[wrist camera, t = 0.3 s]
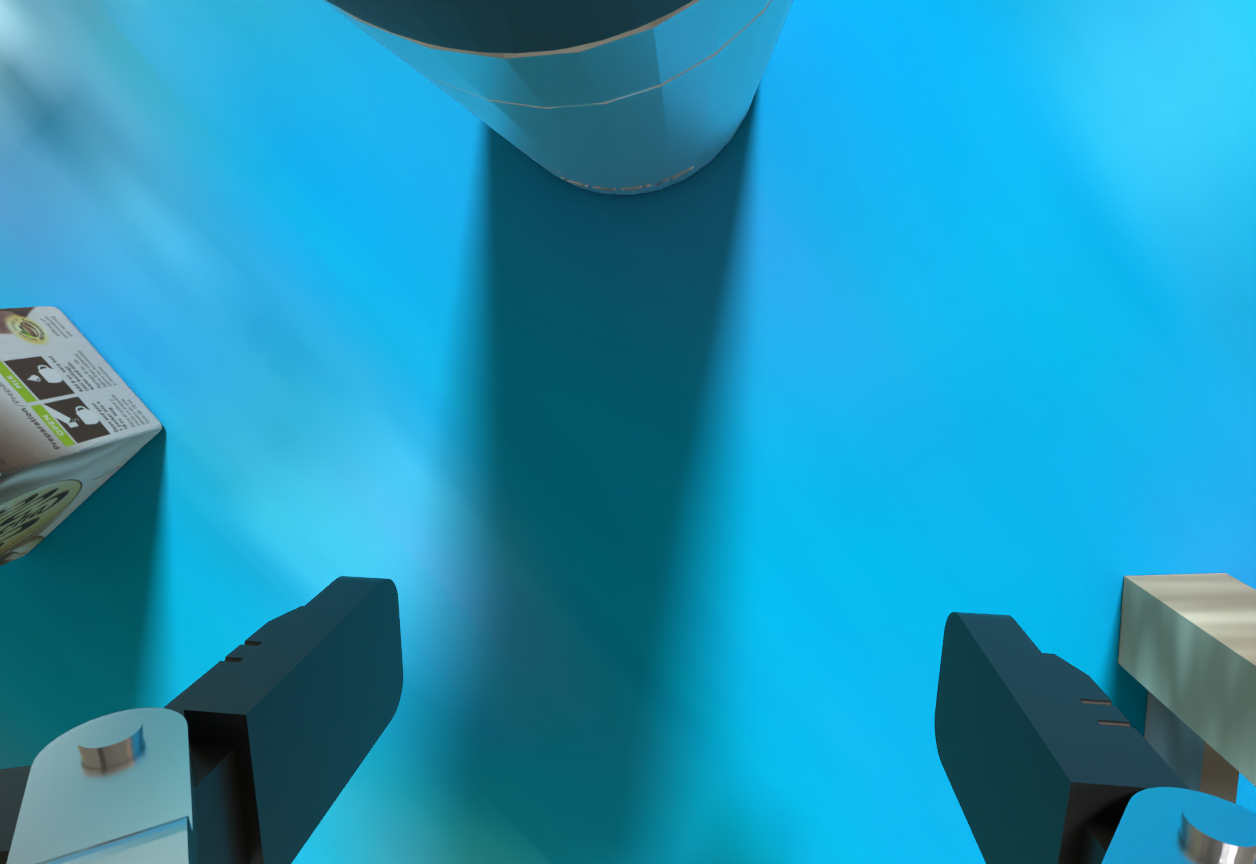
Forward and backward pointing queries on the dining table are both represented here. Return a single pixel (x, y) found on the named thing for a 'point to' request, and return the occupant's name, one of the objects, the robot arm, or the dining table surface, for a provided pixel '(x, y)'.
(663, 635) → the dining table surface
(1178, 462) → the dining table surface
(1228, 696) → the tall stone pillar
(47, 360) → the coffee box
